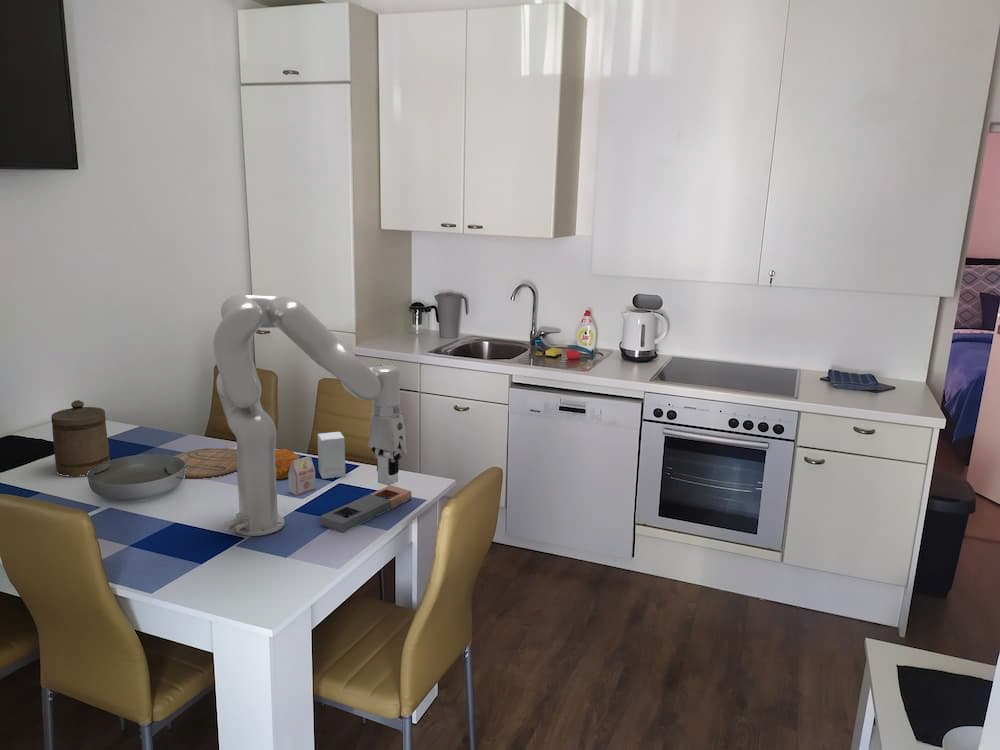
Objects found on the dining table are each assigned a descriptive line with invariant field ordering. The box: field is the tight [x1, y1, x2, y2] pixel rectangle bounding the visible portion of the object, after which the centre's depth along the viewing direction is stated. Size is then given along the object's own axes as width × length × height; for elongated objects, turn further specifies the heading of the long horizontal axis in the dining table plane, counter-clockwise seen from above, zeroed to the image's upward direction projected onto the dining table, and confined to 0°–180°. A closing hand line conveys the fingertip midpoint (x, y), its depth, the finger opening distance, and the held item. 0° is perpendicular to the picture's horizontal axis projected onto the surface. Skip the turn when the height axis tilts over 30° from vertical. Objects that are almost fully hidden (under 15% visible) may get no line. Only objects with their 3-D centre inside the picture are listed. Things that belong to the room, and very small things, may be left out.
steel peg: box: [377, 451, 399, 486], centre depth 218 cm, size 4×4×8 cm
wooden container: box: [50, 399, 111, 477], centre depth 237 cm, size 15×15×22 cm
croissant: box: [275, 448, 301, 480], centre depth 241 cm, size 14×16×8 cm
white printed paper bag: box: [287, 455, 316, 496], centre depth 226 cm, size 4×7×10 cm, turn 141°
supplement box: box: [317, 431, 346, 480], centre depth 240 cm, size 7×7×13 cm
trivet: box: [173, 447, 237, 480], centre depth 246 cm, size 25×25×2 cm
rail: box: [319, 484, 412, 533], centre depth 213 cm, size 28×8×2 cm, turn 147°
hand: (387, 471), depth 218 cm, fingers closed on steel peg, 4 cm apart
